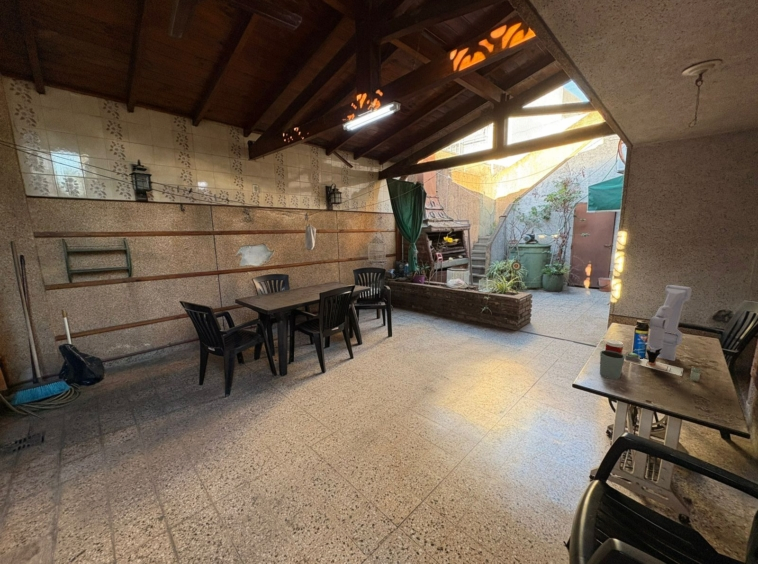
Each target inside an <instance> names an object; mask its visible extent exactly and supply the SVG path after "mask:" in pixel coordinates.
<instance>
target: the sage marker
mask: <svg viewBox="0 0 758 564" xmlns="http://www.w3.org/2000/svg"><path fill="white" fill-rule="evenodd" d="M701 372H702V369H700V368H697V367H691V370H690V374H689V375H690V376H689V380H690V381H692V382H696V383H698V382H699V381H700V376H701Z"/></svg>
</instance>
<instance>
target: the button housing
mask: <svg viewBox="0 0 758 564" xmlns="http://www.w3.org/2000/svg"><path fill="white" fill-rule="evenodd" d="M629 353H630V352H627V353H626V355H624V356H625V359H626V360H630V361H634V362H637V363H639V361H640V358H642V356H641V355H639V354H637V358H636V357H631V356H629Z"/></svg>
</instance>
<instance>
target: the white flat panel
mask: <svg viewBox="0 0 758 564" xmlns="http://www.w3.org/2000/svg"><path fill="white" fill-rule="evenodd" d="M624 362H627V363H631V364H634V365H639V366H641V367H642V366H643V367H646V368H650V369H653V370H657V371H662V372H665V373H669V374H672V375H677V376H679V377H680V378H681V377H682V376H683V371H684V368H683V367H679V366H675V365H671V364H667V363H663V362H659V361H656V366H652V365H649V364H648V358H647V359H646V358H643V359H640V361H639V363H637V362H634V361H630V360H626V359H624Z"/></svg>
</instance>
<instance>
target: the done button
mask: <svg viewBox="0 0 758 564" xmlns="http://www.w3.org/2000/svg"><path fill="white" fill-rule="evenodd" d="M628 353H629V356H631V357H636V358H637V355H638V354H637V353H634V352H628Z"/></svg>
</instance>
